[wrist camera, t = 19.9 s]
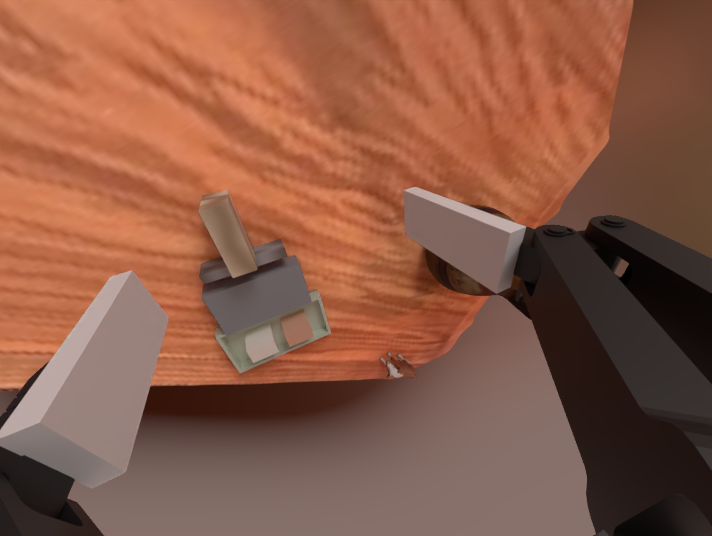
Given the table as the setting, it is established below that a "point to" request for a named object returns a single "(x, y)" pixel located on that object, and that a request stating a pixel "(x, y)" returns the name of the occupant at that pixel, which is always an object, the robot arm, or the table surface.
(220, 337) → the tray
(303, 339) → the reddish brown block
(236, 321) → the slate board
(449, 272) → the ceramic pitcher
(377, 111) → the table surface
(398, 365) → the bull figurine
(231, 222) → the beige slab
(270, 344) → the light grey block
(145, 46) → the table surface
